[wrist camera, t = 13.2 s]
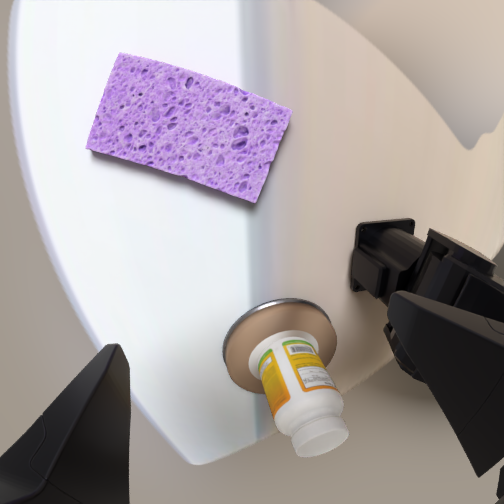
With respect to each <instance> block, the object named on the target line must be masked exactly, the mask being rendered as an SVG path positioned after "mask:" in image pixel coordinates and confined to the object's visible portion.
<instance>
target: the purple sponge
mask: <svg viewBox="0 0 504 504" xmlns="http://www.w3.org/2000/svg"><path fill="white" fill-rule="evenodd" d="M292 113H293V111H292V110H290V109H288V108H286V107H283V106H280V105H278V104H276V103H274V102H272V101H270V100H268V99H265V98H263V97H259V96H257V95H255V94H253V93H249V92H246V91H243V90H241V89H240V88H238V87H236V86H233V85H230V84H228V83H226V82H223V81H221V80H216V79H213V78H211V77H208V76H206V75H202V74H200V73H197V72H194V71H191V70H187V69H184V68H181V67H177V66H172V65H170V64H167V63H164V62H159V61H155V60H151V59H148V58H144V57H139V56H134V55H131V54H125V53H119V54H118V57H117V59H116V61H115V63H114V67H113V69H112V71H111V73H110V76H109V79H108V81H107V85H106V87H105V89H104V94H103V97H102V99H101V102H100V104H99V108H98V111H97V113H96V117H95V119H94V123H93V125H92V128H91V131H90V134H89V137H88V141H87V145H86V149H90V150H93V151H96V152H99V153H104V154H107V155H111V156H115V157H118V158H121V159H125V160H130V161H133V162H135V163H139V164H143V165H147V166H150V167H153V168H155V169H159V170H162V171H164V172H168V173H171V174H175V175H179V176H182V177H185V178H188V179H189V180H192V181H195V182H197V183H200V184H203V185H206V186H208V187H211V188H213V189H216V190H220V191H222V192H225V193H227V194H230V195H232V196H235V197H238V198H242V199H244V200H247V201H250V202H252V203H256V201H257V198H258V196H259V194H260V191H261V189H262V186H263V185H264V182H265V180H266V177H267V175H268V172H269V166H270V164H271V162H272V161H273V160H274V157H275V154H276V152H277V150H278V145H279V143H280V141H281V138H282V136H283V133H284V131H285V130H286V128H287V125H288V123H289V119H290V117H291V115H292Z"/></svg>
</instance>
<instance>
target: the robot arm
mask: <svg viewBox="0 0 504 504" xmlns="http://www.w3.org/2000/svg"><path fill="white" fill-rule="evenodd" d="M410 223H411V224H410ZM363 227H364V230H363V231H362V228H363ZM414 228H415V221H414V220H413V219H411V218H405V219H394V220H383V221H372V222H362V223H360V224H358V226H357V231H356V243H355V249H354V255H353V264H352V273H351V275H352V280H351V289H352V290H353V291H354V292H359V291H364V290H367V291H368V292H369V293H370V294H371V295H372V296H373V297H375V298H376V299H377V298H379V299H380V300H381V301H382V302H383V303H384V304H385V305H386V306H387V307H388V311H387V316H388V319H389V322H388V324H386V325H385V327H384V329H383V330H384V333H385V335H386V337H387V340H388V342H389V344H390V346H391V349H392V351H393V353H394V356H395V358H396V361H397V362H398V364H399V366H400V368H401V369H402V370H404V371H405V372H406V373H408V374H409V375H411V376H412V377H413V378H414V379H416V380H419V381H421V382H424V383H425V384H427V386H428V387H429V389H430V390H431V392H432V394H433V395H434V397H435V399H436V400H437V402H438V404H439V405H440V407H441V409H442V410H443V412H444V414H445V416H446V418H447V419H448V421H449V423H450V425H451V426H452V428H453V430H454V432H455V434H456V435H457V438H458V440H459V441H460V443H461V445H462V447H463V449H464V451H465V453H466V455H467V457H468V459H469V461H470V463H471V465H472V467H473V469H474V471H475V473H476V475H477V476H478V477H481V476H482V475H483V474H484V473H486V472H487V471H488V470H489V469H490V468H492V467H493V466H494V465H495V464H496V463H498V462H499V461H500V460H501V459H502V458H503V457H504V280H503V279H501V278H500V277H498V276H497V275H495V274H494V272H495V270H496V268H497V265H496V264H495V263H494V262H492V261H491V260H490V259H488V258H487V257H486V256H484V255H483V254H481V253H480V252H478V251H477V250H475V249H473V248H471V247H469V246H467V245H466V244H464V243H462V242H460V241H458V240H456V239H453V238H451V237H449V236H447V235H444V234H442V233H440V232H438V231H435V230H433V229H431V228H429V231H428V234H427V235H428V237H427V240H426V242H424V241H422V240H420V239H419V238H417V237H415V236H413V235H414ZM356 285H357V287H356ZM130 401H131V400H130V368H129V363H128V361H127V359H126V356H125V354H124V352H123V350H122V348H121V346H120V345H119V344H117V343H116V344H107V345H106V346H105V347H104V348H103V349H102V350H101V351H100V352H99V353H98V354H97V355H96V356H95V357H94V358H93V359H92V360H91V361H90V362H89V363H88V365H87V366H85V368H84V369H83V370H82V371H81V372H80V373H79V374H78V375H77V376H76V377H75V378H74V379H73V380H72V381H71V383H70V384H69V385H68V386H67V387H66V388H65V389H64V390H63V391H62V392H61V393H60V395H59V396H58V397H57V398H56V399H55V400H54V401H53V402H52V403H51V404H50V406H49V407H48V408H47V409H46V410H45V411H44V412H43V415H41V416H40V417H39V418H38V419H37V420H36V421H35V422H34V424H33V425H32V426H31V427H30V428H29V429H28V430H27V431H26V432H25V433H24V434H23V435H22V436H21V437H20V438H19V439H18V440H17V441H16V442H15V443H14V444H13V445H12V446H11V447H10V448H9V449H8V450H7V451H6V452H5V453H4V454H3V455H2V456H1V457H0V504H129V503H130V502H129V439H130V419H131V402H130ZM496 495H497V497H498V498H499V500H498V501H497V502H496V503H495V504H504V465H503V466H502V468H501V469H500V475H499V482H498V488H497V494H496Z"/></svg>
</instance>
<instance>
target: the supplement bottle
mask: <svg viewBox="0 0 504 504" xmlns="http://www.w3.org/2000/svg"><path fill="white" fill-rule="evenodd" d="M257 366H258V371H259V374H260V378H261V381H262V384H263V387H264V390H265V394H266V397H267V400H268V403H269V406H270V409H271V413H272V416H273V419H274V422H275V424H276V427H277V429H278V430H279V431H280V432H281V433H282V434H284V435H286V436H290V437H291V442H292V445H293V448H294V450H295V452H296V454H297V456H299V457H305V458H306V457H307V458H308V457H314V456H318V455H322V454H324V453H327V452H329V451H331V450H333V449H335V448H336V447H338V446H339V445H341V444H342V443H343V442H344V441H345V440H346V439H347V438H348V436H349V430H348V428H347V426H346V424H345V422H344V420H343V419H342V418H341V417H340V415H341V414H342V412H343V408H344V402H343V399H342V397H341V395H340V393H339V391H338V389H337V388H336V386H335V384H334V382H333V381H332V379H331V377H330V375H329V373H328V372H327V370H326V368H325V366H324V365H323V363H322V361H321V359H320V357H319V356H318V354H317V352H316V350H315V349H314V347H313V345H312V344H311V343H310V342H309V341H308V340H306V339H304V338H300V337H286V338H282V339H279V340H277V341H275V342H273V343H272V344H270V345H269V346H268V347H266V348H265V349H264V350H263V352H262V353H261V354H260V356H259V359H258V363H257Z"/></svg>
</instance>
